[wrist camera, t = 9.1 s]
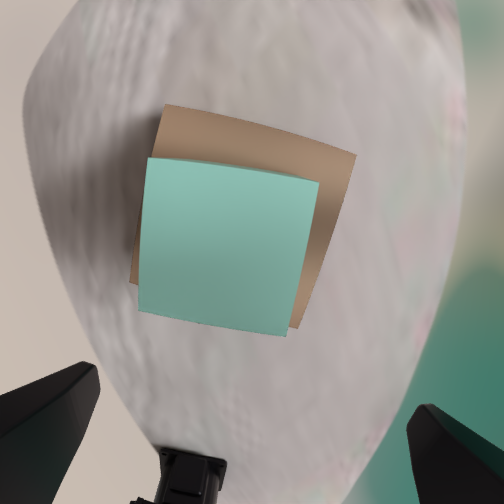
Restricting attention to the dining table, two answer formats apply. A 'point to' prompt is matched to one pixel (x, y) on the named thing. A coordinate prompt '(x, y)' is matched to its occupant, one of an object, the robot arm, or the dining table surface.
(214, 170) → the teal cube
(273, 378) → the dining table surface
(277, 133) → the walnut block
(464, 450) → the robot arm
